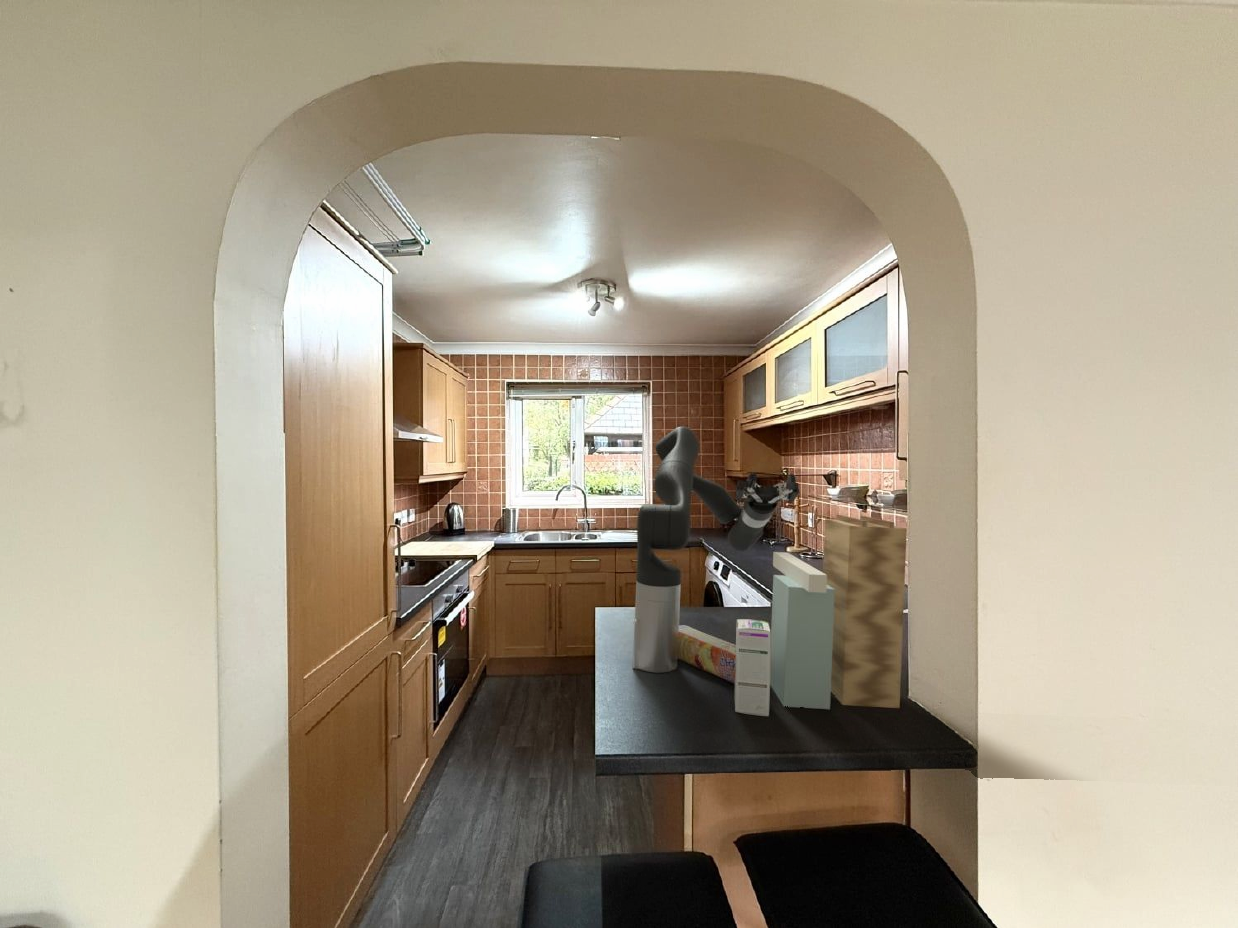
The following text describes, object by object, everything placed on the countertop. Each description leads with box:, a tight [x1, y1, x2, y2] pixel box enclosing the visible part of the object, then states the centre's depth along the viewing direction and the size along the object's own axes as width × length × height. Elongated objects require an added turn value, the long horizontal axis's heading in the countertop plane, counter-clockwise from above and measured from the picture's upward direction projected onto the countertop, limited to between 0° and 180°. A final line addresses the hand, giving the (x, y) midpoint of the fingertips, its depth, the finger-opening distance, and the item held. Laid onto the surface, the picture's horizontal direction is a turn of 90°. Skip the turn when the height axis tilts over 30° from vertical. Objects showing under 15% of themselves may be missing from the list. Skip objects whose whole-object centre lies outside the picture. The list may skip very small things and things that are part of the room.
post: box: [770, 574, 835, 710], centre depth 95 cm, size 8×10×21 cm
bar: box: [772, 551, 827, 593], centre depth 99 cm, size 3×23×3 cm, turn 178°
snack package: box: [677, 624, 736, 685], centre depth 106 cm, size 21×7×7 cm, turn 39°
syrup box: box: [734, 618, 771, 717], centre depth 90 cm, size 6×6×14 cm
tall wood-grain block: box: [822, 514, 907, 709], centre depth 98 cm, size 10×12×33 cm
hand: (773, 476), depth 118 cm, fingers open, 8 cm apart
